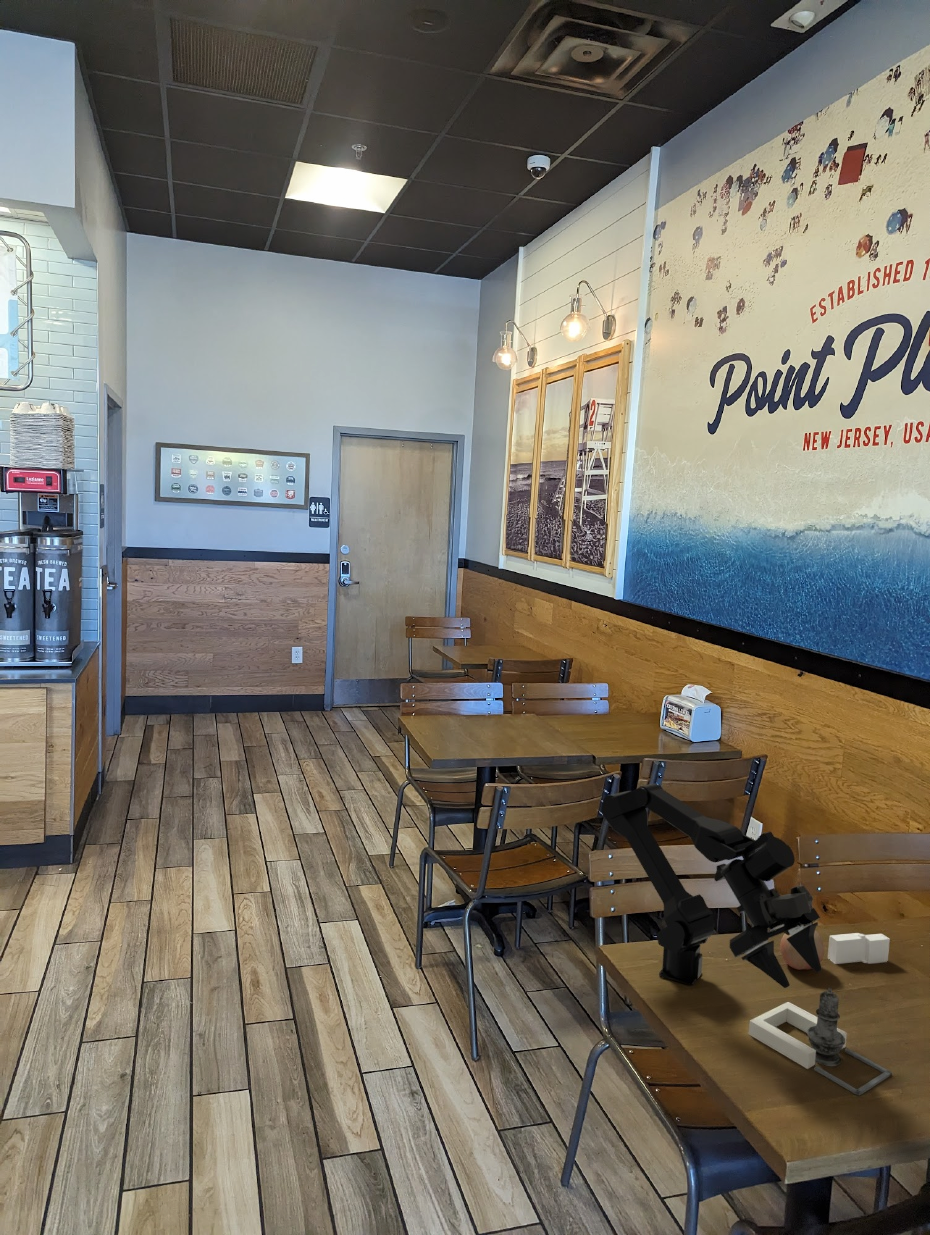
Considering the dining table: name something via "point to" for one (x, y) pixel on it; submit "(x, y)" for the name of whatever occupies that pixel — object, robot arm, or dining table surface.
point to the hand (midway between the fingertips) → (803, 979)
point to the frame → (867, 1086)
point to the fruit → (794, 957)
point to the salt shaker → (827, 1031)
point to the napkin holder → (858, 948)
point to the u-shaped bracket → (781, 1041)
